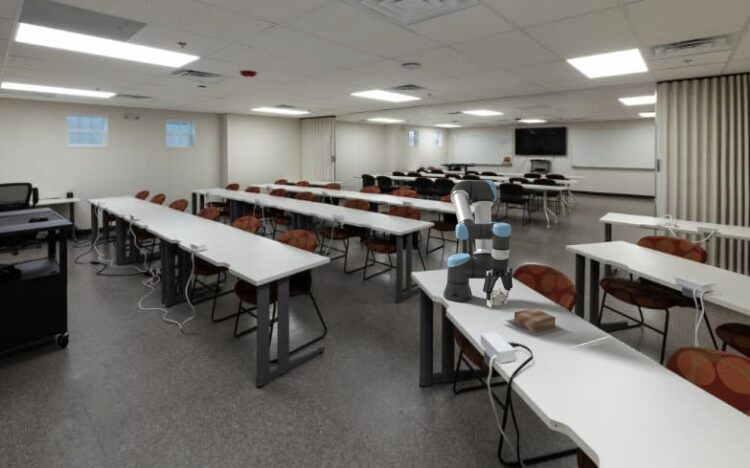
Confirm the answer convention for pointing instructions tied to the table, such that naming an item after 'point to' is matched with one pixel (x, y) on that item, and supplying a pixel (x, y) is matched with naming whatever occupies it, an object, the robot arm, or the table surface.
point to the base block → (534, 320)
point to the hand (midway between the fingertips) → (496, 304)
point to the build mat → (537, 332)
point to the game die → (498, 297)
